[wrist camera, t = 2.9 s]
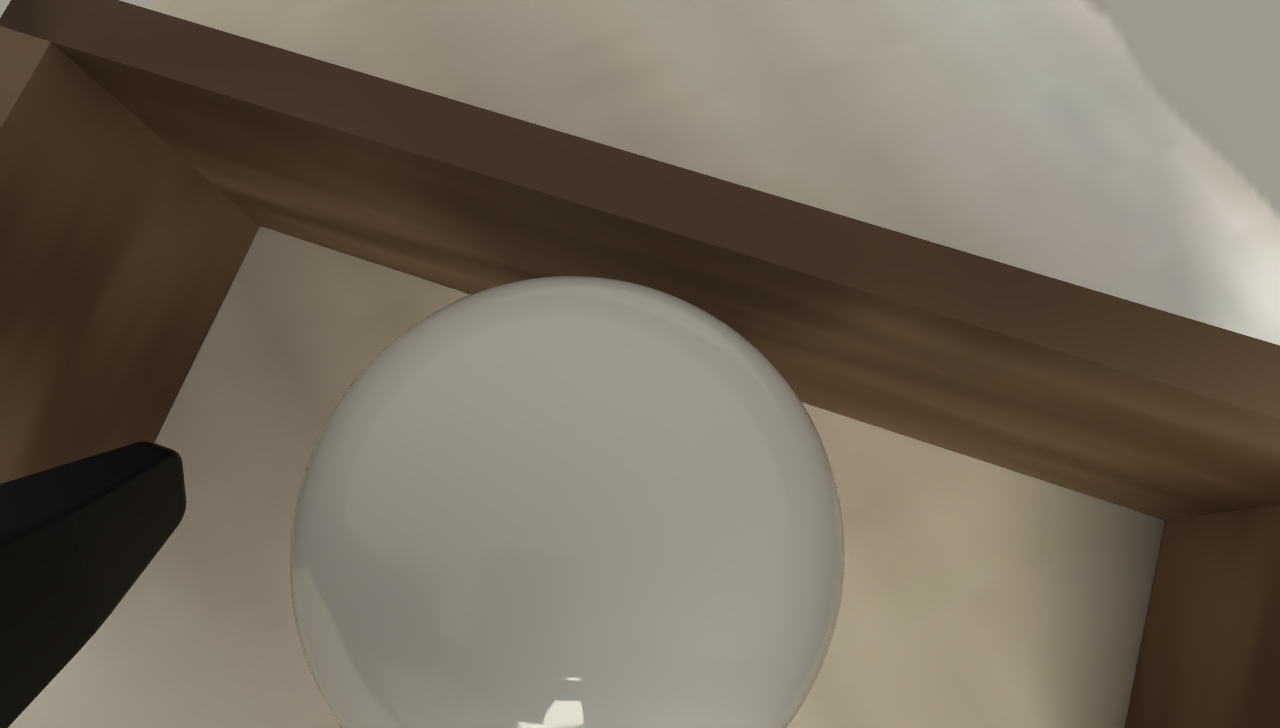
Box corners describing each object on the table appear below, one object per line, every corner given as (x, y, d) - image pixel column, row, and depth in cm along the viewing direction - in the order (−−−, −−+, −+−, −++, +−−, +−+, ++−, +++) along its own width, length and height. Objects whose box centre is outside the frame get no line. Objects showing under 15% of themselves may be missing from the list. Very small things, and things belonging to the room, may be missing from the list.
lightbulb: (515, 381, 19) (314, 116, 8) (797, 452, 18) (969, 265, 8) (424, 674, 17) (39, 807, 7) (728, 763, 17) (825, 1061, 6)
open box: (1128, 1013, 16) (1482, 1342, 9) (35, 584, 18) (-341, 581, 11) (1223, 489, 18) (1561, 429, 11) (240, 176, 20) (27, -27, 14)
